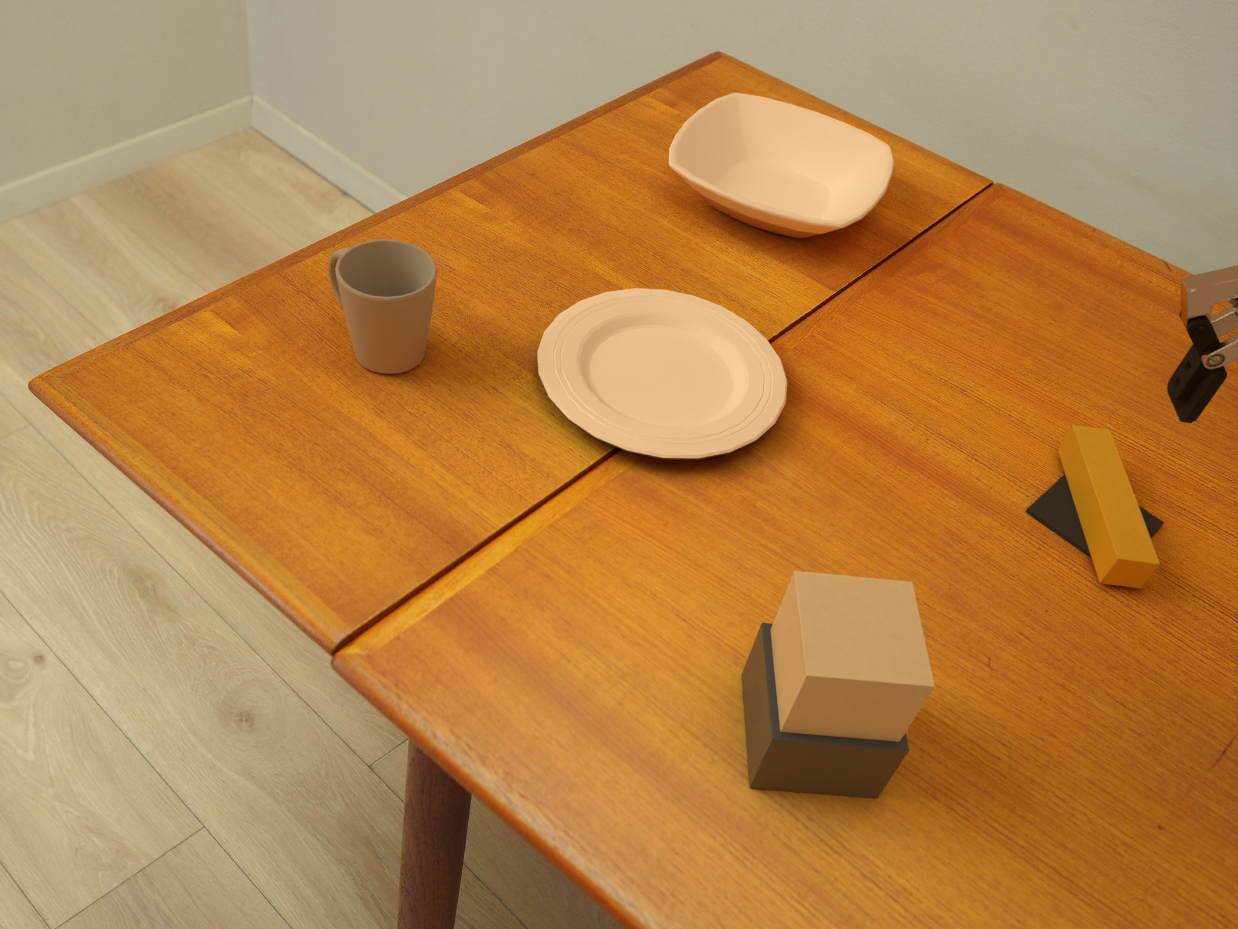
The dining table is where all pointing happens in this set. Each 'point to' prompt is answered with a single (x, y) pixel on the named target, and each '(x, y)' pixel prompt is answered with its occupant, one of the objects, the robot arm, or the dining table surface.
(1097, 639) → the dining table surface
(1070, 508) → the mat
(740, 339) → the plate
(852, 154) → the bowl
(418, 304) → the cup
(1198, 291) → the robot arm
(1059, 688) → the dining table surface
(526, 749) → the dining table surface
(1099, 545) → the bar
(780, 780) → the tower
